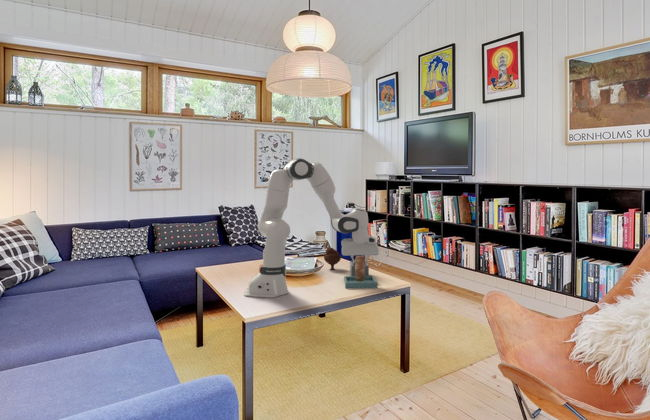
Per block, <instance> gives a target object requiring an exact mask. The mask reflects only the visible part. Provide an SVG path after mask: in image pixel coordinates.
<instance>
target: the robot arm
mask: <svg viewBox="0 0 650 420" xmlns="http://www.w3.org/2000/svg"><path fill="white" fill-rule="evenodd" d="M300 180H301V181H302V180H307V181H308V182H309V183H310V185H311V188H312V189H313V191H314V192H315V194H316V195H317V197H318V198H319V199H320V200H321V202H322V203H323V205H324V207H325V209H326V211H327V212H328V214H329V218H330V226H331V227H332V229H334V231H336V232H339V233H342V234H349V233H351V238H343V239H342V240H341V241H340V244H341V255H342V256H349V257H350V258H351V259H352V262H353V263H356V260H355V259H354V258H355V257H354V256H365V257H366V259H365V262H364V263H368V260H369V258H370V256H378V255H379V253H380V250H379V245H378V243H377V238H376V237H375V236H373V235H370V234H369V230H368V228H369V216H368V215H369V214H368V212H367V211H366V210H365V209H361V208H354V209H353V210H351V211H350V212H347V213H346V214H344V213H343V212H342V211H341V209H340V208H339V206H338V204H337V202H336V200H335V192H336V186H335V183H334V181H333V179H332V177H331V175H330V174H329V173H328V171H327V169H326V168H325V166H323V164H322V163H320V162H313V163H311V162H309V161H308V160H306V159H304V158H302V157H301V158H293V159H291V160H289V161H287V162H286V163H285V165H284V166H283V167H282V169H281V168H277V169H274V170H273V171H272V172H271V173H270V177H269V180H268V185H267V190H266V199H265V205H264V208H263V211H262V215H261V217H260V220H259V221H258V222H257V230H258V232H259V233H260V235H261V236H263V237H265V246H264V249H263V250H262V263H263V264H260V265H259V270H258V271H259V273H257V274H256V275H255V276H254V277H253V278H252V279H251V280H250V281H249V283H248V288H246V289H245V290H244V292H243V295H244V297H252V298H254V297H255V298H276V297H279V296H280V297H281V296H283V295H286V294H288V293H289V289H288V285H287V280H286V278H287V277H286V275H287V267H286V261H285V260H286V259H285V258H286V256H285V255H286V253H285V252H286V245H287V240H288V238H289V236H290V235H291V226H290V225H289V224H288V222H286V221H285V220H284V219H282V218H283V216H284V212H285V211H286V210H287V208H288V201H289V195H290V193H289V192H290V186H291V184H292V182H293V181H300Z"/></svg>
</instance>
